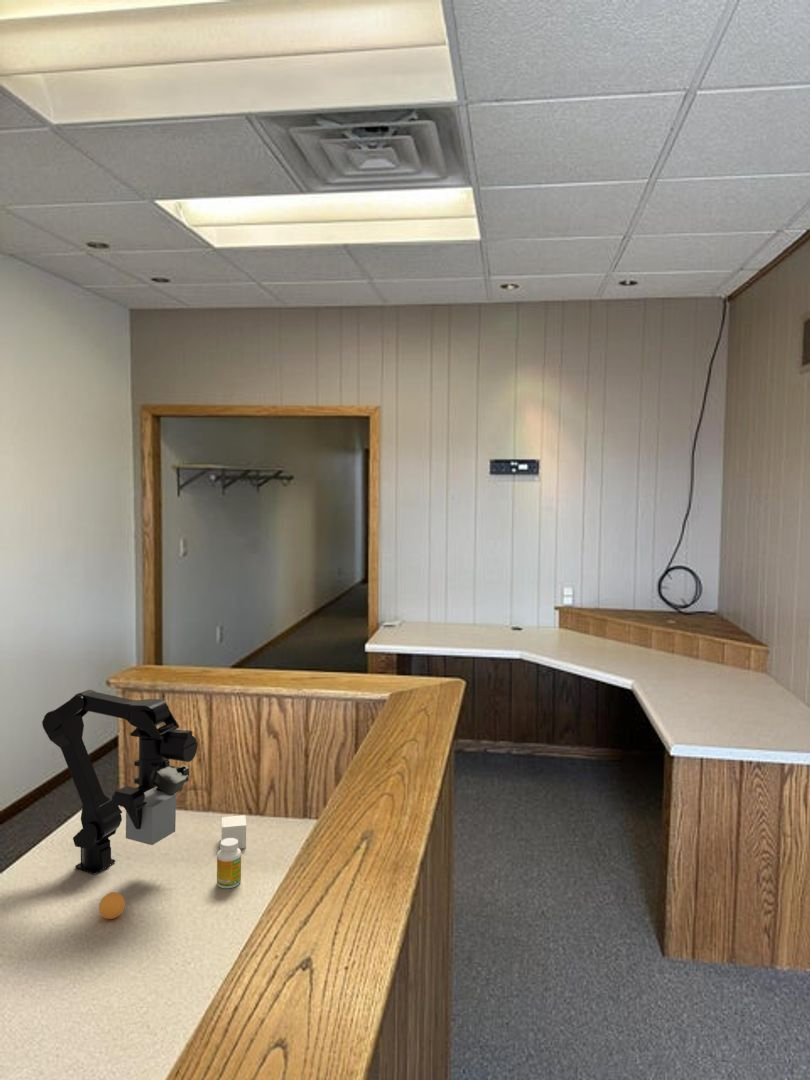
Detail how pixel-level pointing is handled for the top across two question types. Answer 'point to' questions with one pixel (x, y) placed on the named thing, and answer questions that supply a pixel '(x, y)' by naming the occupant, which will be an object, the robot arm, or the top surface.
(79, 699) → the robot arm
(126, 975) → the top surface
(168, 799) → the grey upright block
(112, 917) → the ball
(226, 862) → the supplement bottle
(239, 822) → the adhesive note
